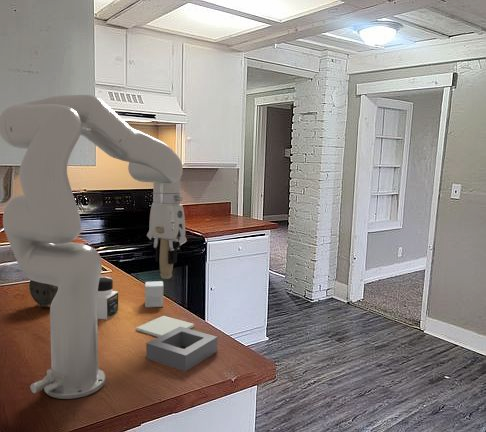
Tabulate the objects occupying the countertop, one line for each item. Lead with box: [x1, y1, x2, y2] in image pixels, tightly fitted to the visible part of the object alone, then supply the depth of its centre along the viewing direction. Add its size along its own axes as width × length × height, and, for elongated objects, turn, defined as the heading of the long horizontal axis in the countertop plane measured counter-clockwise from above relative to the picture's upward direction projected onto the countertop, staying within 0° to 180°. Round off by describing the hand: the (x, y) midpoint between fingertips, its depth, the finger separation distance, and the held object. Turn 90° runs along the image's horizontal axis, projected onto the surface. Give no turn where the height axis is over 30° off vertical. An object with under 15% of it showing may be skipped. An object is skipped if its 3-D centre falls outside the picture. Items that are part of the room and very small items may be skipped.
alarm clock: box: [28, 279, 58, 310], centre depth 144 cm, size 11×5×16 cm, turn 65°
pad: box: [135, 315, 195, 338], centre depth 131 cm, size 12×12×1 cm
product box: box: [144, 280, 164, 308], centre depth 152 cm, size 6×6×7 cm
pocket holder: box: [145, 327, 218, 372], centre depth 114 cm, size 13×12×4 cm
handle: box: [155, 227, 174, 280], centre depth 129 cm, size 5×6×15 cm
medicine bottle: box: [97, 276, 119, 321], centre depth 140 cm, size 7×7×12 cm
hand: (166, 261), depth 129 cm, fingers closed on handle, 4 cm apart
